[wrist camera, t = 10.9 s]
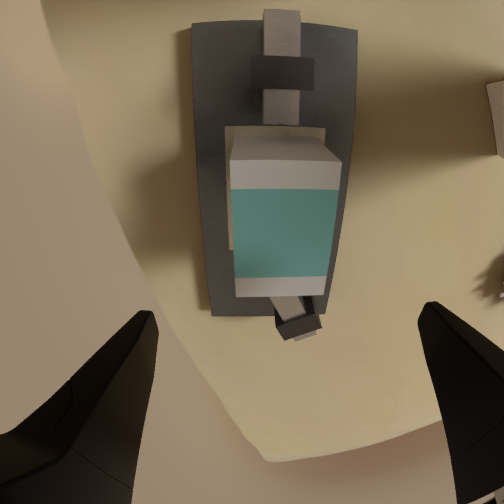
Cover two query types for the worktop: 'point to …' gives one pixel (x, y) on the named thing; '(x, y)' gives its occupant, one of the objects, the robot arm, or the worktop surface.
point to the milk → (497, 113)
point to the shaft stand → (267, 133)
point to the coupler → (282, 214)
